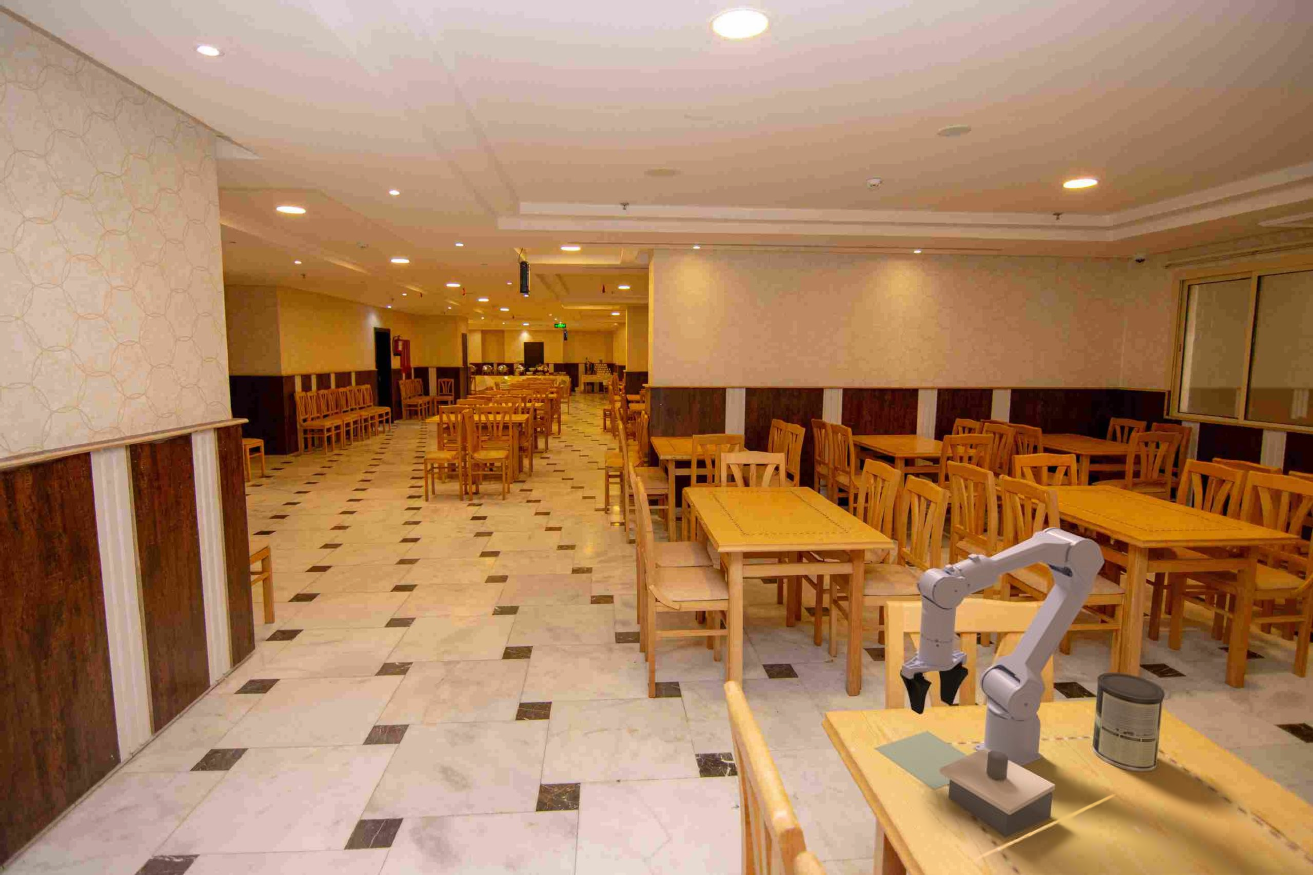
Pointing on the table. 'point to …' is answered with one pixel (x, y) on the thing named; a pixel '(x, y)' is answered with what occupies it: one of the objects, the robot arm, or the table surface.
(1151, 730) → the coffee can
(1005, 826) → the dish
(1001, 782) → the lid
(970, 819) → the table surface
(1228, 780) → the table surface
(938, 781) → the mat
